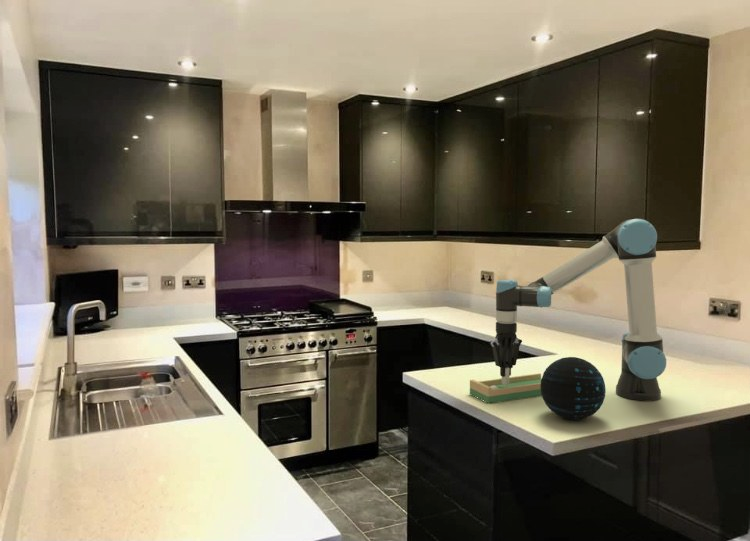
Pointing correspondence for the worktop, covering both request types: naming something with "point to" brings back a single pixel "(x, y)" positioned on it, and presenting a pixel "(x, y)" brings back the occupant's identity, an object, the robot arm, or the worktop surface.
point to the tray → (507, 388)
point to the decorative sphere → (573, 388)
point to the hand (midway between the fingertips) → (505, 384)
